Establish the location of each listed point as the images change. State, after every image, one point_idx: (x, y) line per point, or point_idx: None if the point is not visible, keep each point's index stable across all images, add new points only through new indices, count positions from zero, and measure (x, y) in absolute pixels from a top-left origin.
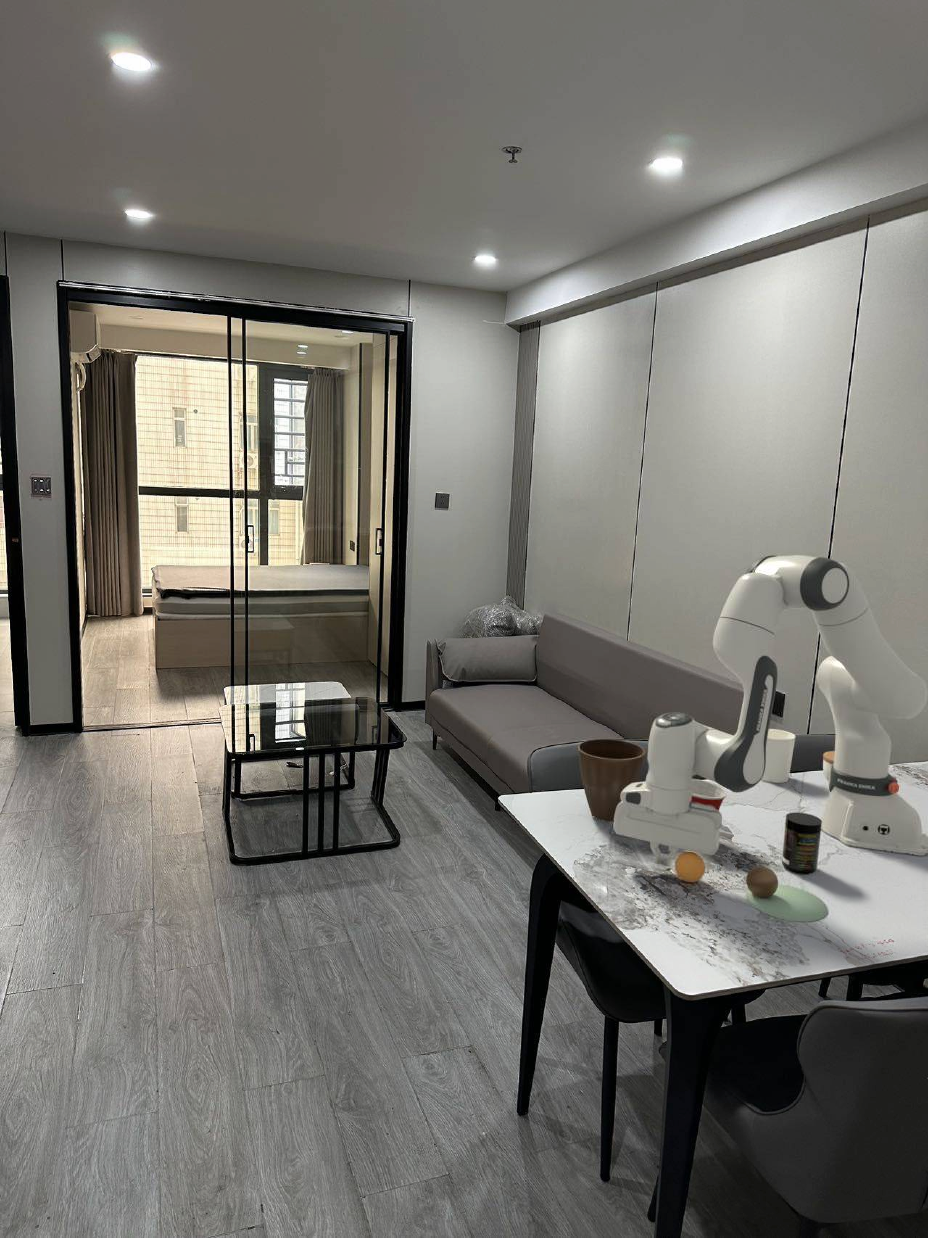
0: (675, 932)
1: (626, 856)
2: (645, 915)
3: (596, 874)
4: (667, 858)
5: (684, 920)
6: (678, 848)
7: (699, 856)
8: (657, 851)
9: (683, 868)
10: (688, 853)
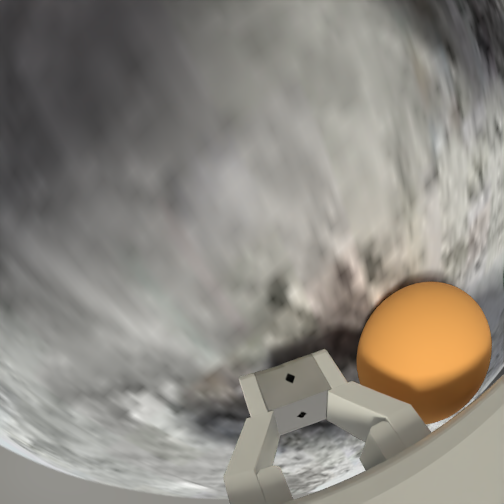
0: None
1: (29, 328)
2: (319, 472)
3: (115, 467)
4: (332, 417)
5: None
6: (411, 408)
7: (489, 363)
8: (272, 452)
9: None
10: (456, 410)
